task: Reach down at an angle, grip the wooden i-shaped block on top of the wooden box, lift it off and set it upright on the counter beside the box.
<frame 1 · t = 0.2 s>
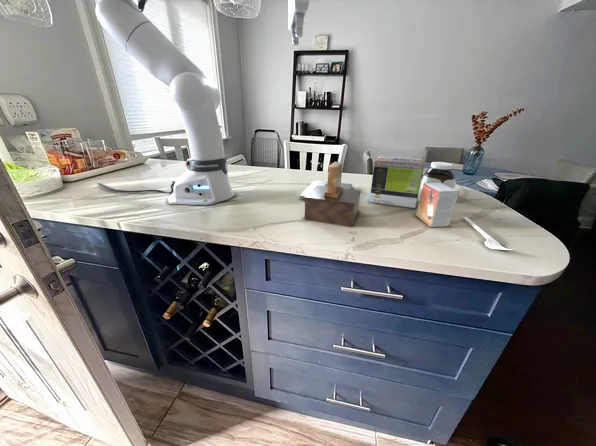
hand: (297, 41, 72), 48 cm above the worktop, tool pointing down, fingers open, 8 cm apart
spread jar: (436, 193, 94), on the worktop
small box: (431, 221, 71), on the worktop
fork: (481, 235, 64), on the worktop
wooden i-shaped block: (333, 193, 72), point 7 cm above the worktop, touching wooden box
tea box: (392, 201, 86), on the worktop
wooden box: (332, 215, 75), on the worktop
play button award: (327, 193, 94), on the worktop
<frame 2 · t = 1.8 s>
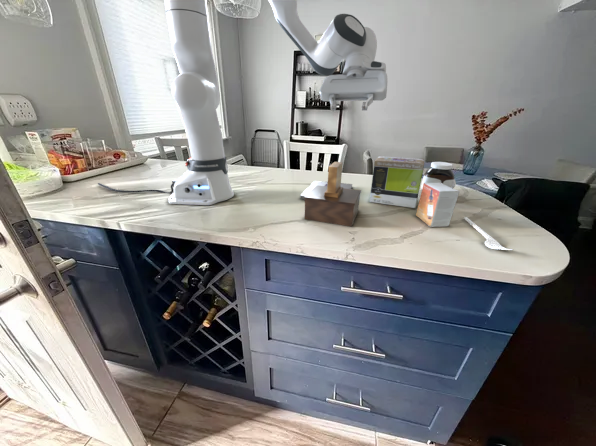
hand: (348, 108, 73), 30 cm above the worktop, tool tilted 45°, fingers open, 8 cm apart
nothing on the worktop moved.
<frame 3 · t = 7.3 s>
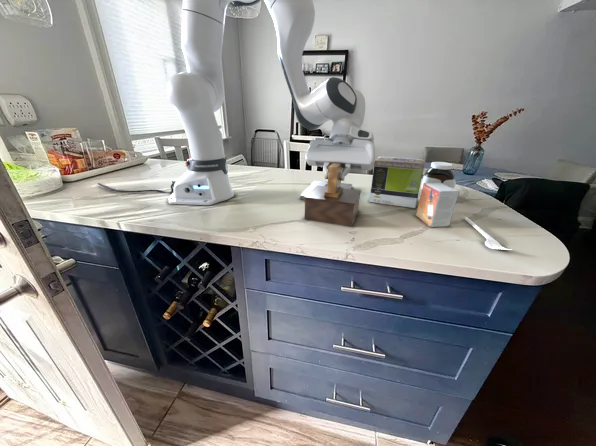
hand: (334, 178, 70), 12 cm above the worktop, tool tilted 45°, fingers closed on wooden i-shaped block, 3 cm apart
wooden i-shaped block: (333, 193, 72), point 7 cm above the worktop, touching gripper, wooden box
everything else where it was.
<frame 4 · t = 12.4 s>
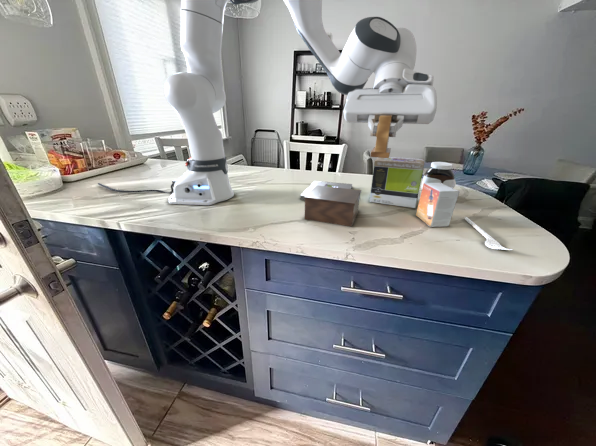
hand: (382, 135, 55), 24 cm above the worktop, tool tilted 45°, fingers closed on wooden i-shaped block, 3 cm apart
wooden i-shaped block: (380, 154, 58), point 20 cm above the worktop, touching gripper
everything else where it was.
when the fingers open (4 cm above the worktop, at t = 17.9 s): wooden i-shaped block stays where it is, on the worktop.
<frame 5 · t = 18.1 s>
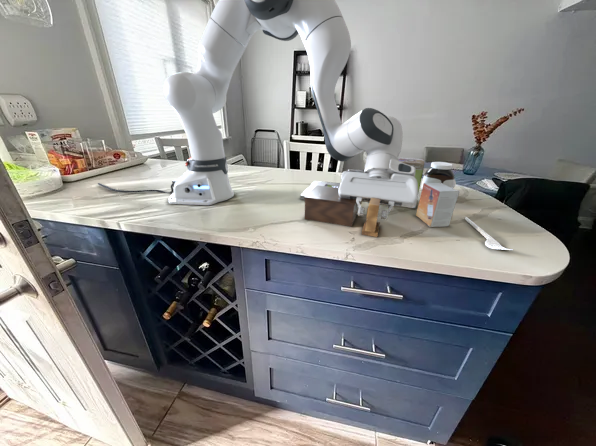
hand: (372, 216, 64), 4 cm above the worktop, tool tilted 45°, fingers open, 5 cm apart
wooden i-shaped block: (370, 230, 66), on the worktop
everything else where it was.
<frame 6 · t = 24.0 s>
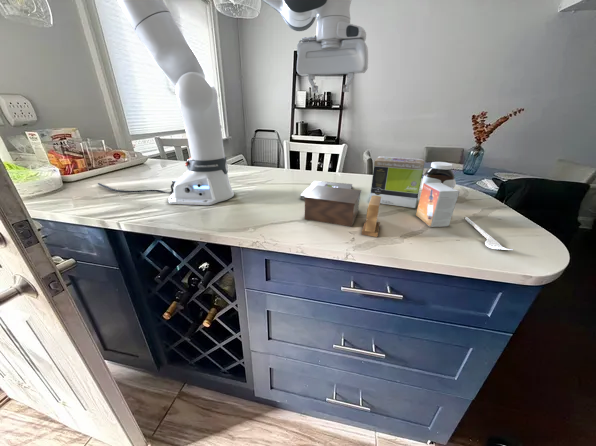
hand: (329, 92, 72), 34 cm above the worktop, tool pointing down, fingers open, 8 cm apart
nothing on the worktop moved.
at the end: wooden i-shaped block inside the target area (0.1 cm from its centre), on the worktop; wooden i-shaped block tilted 0°; the gripper is holding nothing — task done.
